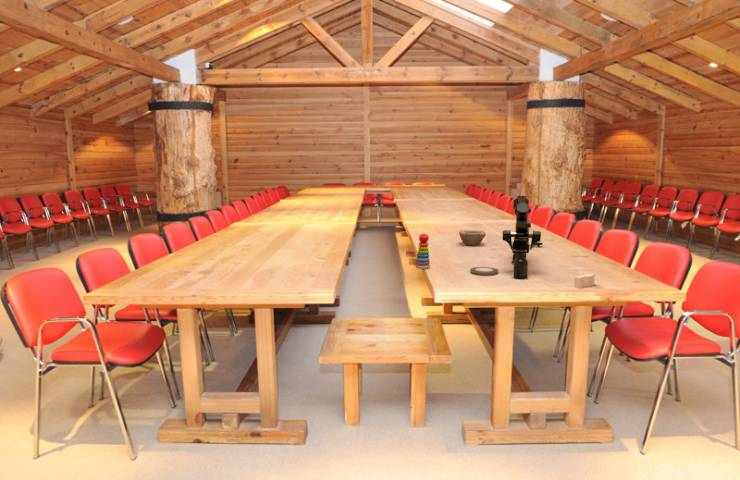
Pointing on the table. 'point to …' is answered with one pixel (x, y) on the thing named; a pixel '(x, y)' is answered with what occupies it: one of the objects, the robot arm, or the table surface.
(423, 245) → the stacking toy
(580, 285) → the napkin holder
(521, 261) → the supplement bottle
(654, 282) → the table surface
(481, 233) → the mortar
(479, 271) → the hub pad
